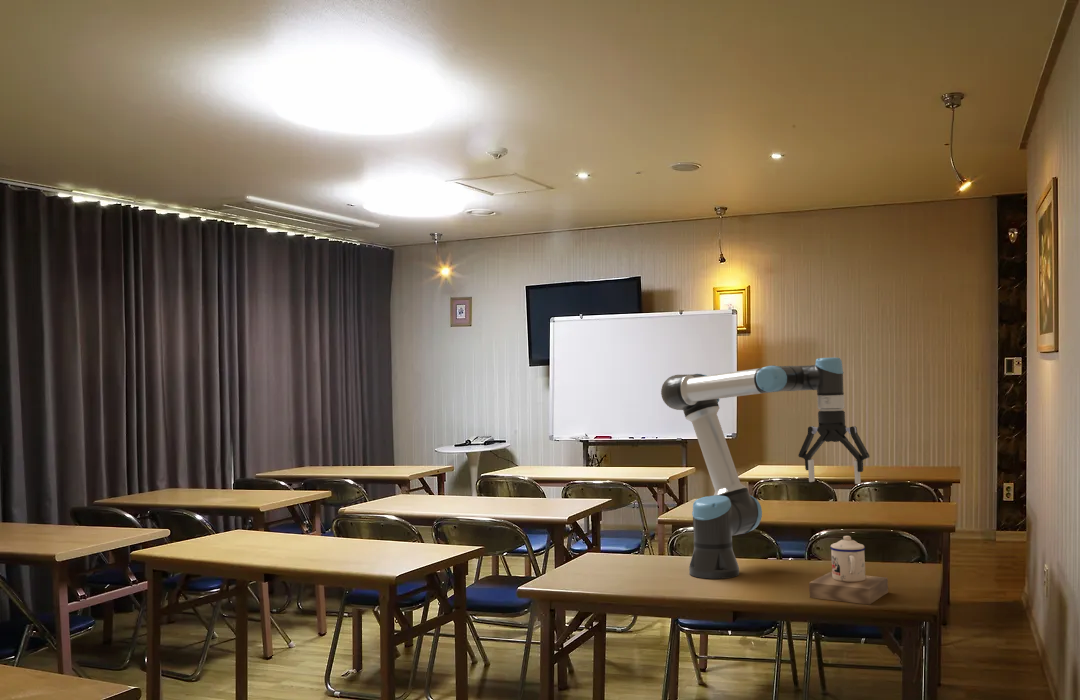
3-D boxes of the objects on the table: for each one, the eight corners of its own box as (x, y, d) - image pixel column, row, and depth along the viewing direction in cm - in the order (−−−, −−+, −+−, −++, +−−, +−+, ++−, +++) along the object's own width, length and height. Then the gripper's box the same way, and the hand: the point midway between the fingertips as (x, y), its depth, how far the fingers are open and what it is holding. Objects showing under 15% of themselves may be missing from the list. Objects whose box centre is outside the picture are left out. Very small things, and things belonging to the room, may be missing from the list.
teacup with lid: (828, 575, 252) (827, 533, 252) (862, 575, 251) (860, 533, 251) (836, 584, 240) (834, 541, 241) (872, 584, 239) (870, 540, 239)
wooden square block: (809, 597, 244) (809, 582, 244) (830, 586, 257) (829, 571, 257) (869, 604, 234) (868, 589, 234) (888, 592, 247) (887, 577, 247)
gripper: (785, 410, 269) (788, 482, 268) (870, 410, 254) (873, 485, 253) (795, 410, 275) (798, 479, 274) (878, 409, 260) (881, 482, 259)
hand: (834, 482), depth 263 cm, fingers open, 13 cm apart
